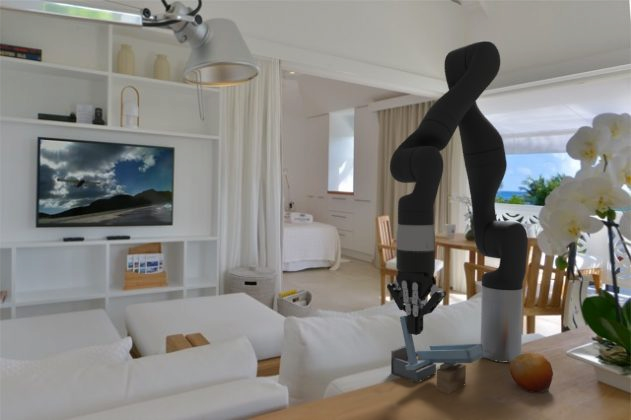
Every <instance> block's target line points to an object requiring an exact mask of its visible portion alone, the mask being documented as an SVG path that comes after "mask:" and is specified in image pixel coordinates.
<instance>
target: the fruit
mask: <svg viewBox="0 0 631 420" xmlns="http://www.w3.org/2000/svg"><path fill="white" fill-rule="evenodd" d="M508 370H509V373H510V375H511V378H512V379H513V381H514V382H515V383H516V385H517V386H519V387H520V388H521V389H522V390H524V391H526V392H528V393H529V392H530V393H542V392H547V393H549V391H550V387H551V385H552V380H553V376H554V372H553V368H552V364H551V362H550V361H549V360H548V359H547V358H546V357H545V356H544V355H541V354H539V353H535V352H528V353H527V352H525V353H521V355H519V356H517V357H516V358H515V359H513V360H512V361H511V363H509V365H508Z"/></svg>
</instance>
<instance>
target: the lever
mask: <svg viewBox="0 0 631 420" xmlns="http://www.w3.org/2000/svg"><path fill="white" fill-rule="evenodd" d="M399 319H400V325H401V330H402V331H401V332H402V335H403V341H404V343H405V344H404V346H406V350H407V355H408V360H409V364H408V365H406V366H405V367H406V370H416V369H418V368H420V367H422V366H425V365H427V364H429V363H435V364H444V363H460V364H472V363H474V362H477V361H478V360H480V359H482V358H485V357H484V356H485V355H484V350H483V346H482V344H481V343H469V344H466V343H463V344H434V345H433V344H432V345H429V350H428V349H427V350H425V349H424V350H416V349H415V348H416V347H415V344H414V339H413V334H410V333H409V330H408V328H407V315H401V316H399ZM416 352H417V356H418V361H417V357H416Z"/></svg>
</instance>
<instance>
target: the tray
mask: <svg viewBox="0 0 631 420" xmlns="http://www.w3.org/2000/svg"><path fill="white" fill-rule="evenodd" d="M415 352H416V356H417V351H415ZM390 353H391V360H390V361H391V362H390V363H391V366H390V373H391V375H393V376H397V377H399V378H403V379H405V378H407V379H406V380H408V379H410V380H409V381H411V380H413V381H415V382H414V383H416V382H418V383H420V382H421V381H420V380H422V381H424V380H426V379H428V378H429V377H428V376H430V375H432V374H434V373H436V374H437V363H429V364H427V365H425V366H423V368H422V369H420V370H417V371H416V370H406V367H405V366H406V365H408V364H409V362H407V360H408V355H407V350H406V345H404V346H401V347H399V348H398V347H397V348H395V349H392V350H391V352H390ZM417 357H418V356H417ZM434 375H435V374H434ZM432 376H433V375H432ZM427 377H428V378H427ZM430 377H431V376H430ZM425 378H426V379H425ZM423 379H424V380H423ZM413 381H412V382H413ZM419 381H420V382H419Z"/></svg>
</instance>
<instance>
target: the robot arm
mask: <svg viewBox="0 0 631 420" xmlns="http://www.w3.org/2000/svg"><path fill="white" fill-rule="evenodd" d="M500 67H501V56H500V52H499V49H498V47H497V45H496V44H495V43H494V42H492V41H491V40H478V41H476V42H475V41H474V42H472V43H470V44H468V45H465V46H461V47H458V48H455V49H453V50H451V51H449V52H448V53H447V55H446V56H445V59H444V76H445V79H446V80H445V81H446V84H447V89H448V90H447V91H446V92H445V93H444V94H442V96H440V97H439V98H438V99H437V100H436V101H435V102H434V103H433V104H432V105H431V106H430V107H429V108H428V110H427V112H426V114H425V115H424V116H423V119H422V120H421V122H420V123H419V125H418V127H417V128H416V129H415V130H414V131H413V132H411V134H410V135H409V136H407V137H406V139H404V141H403V142H402V143H401V144H400V145H398V147H397V148H396V149H395V151H394V152H393V154H392V156H391V158H390V162H389V172H390V175H391V176H392V178H393V179H394V180H395V181H397V182H399V183H404V184H406V183H407V184H408V183H409V184H410V183H411V184H412V183H414V184H415V185H414V187H413V191H412V192H410V193H408V194H405V195H402V196H400V198H399V199H398V201H397V202H398V203H397V230H396V245H395V246H396V247H395V248H396V253H395V254H396V256H395V257H396V258H395V259H396V260H395V261H396V263H395V265H396V270H397V274H396V276H395V280H394V281H393V282H391V283H388V284H387V285H386V288H387V291H388V292H389V294H390V295H391V297H392V299H393V301H394V303H395V304H396V306H397V308H398V309H399V311H403V312H405V314H406V316H407V328H408V330H409V333H410V334H412V335H414V336H418V335H420V334H422V332H423V330H424V317H425V316H426V315H429V314H431V313H433V312H434V310H435V309H436V308H437V307H438V305H439V304H440V303H441V302H442V301H443V299H445V297H446V296H447V291H445V290H444V289H443V290H441V289H440V288H439V287H438V286H437V281H436V279H435V275H434V273H435V271H436V270H435V269H436V233H435V220H434V218H435V212H434V211H435V202H436V198H437V194H438V191H439V187H440V184H441V181H442V176H443V173H444V159H443V156H442V154H441V151H444V149H446V147H447V145H448V144H449V143H450V141H451V139H452V138H453V135H454V134H455V132H456V130H457V128H458V131H459V137H460V142H461V143H460V144H461V149H462V156H463V161H464V167H465V171H466V176H467V181H468V188H469V192H470V193H469V195H470V200H471V202H470V203H471V212H472V223H473V236H474V243H475V246H476V248H477V251H478V252H479V253H480V254H481V256H484V257H487V258H493V259H499V266H498V267H497V268H496V269H494V270H492V271H486V272H484V273H483V274H482V276H481V295H480V296H481V300H480V301H481V306H480V307H481V309H480V310H481V311H480V344H482V346H483V350H484V355H485V356H484V357H483V358H485V357H486V358H485V359H487V358H488V359H487V360H489V359H492V360H491V361H493V360H497V361H507V362H511V361H512V360H513V359H515V358H516V357H517V356H519V355H521V354H522V342H523V341H522V338H523V337H522V335H523V332H522V331H523V290H524V289H523V287H524V285H523V284H524V280H525V277H526V269H527V268H526V267H527V258H528V257H527V256H528V247H529V246H528V244H529V243H528V242H529V241H528V233H527V229H526V227H525V226H524V225H523V224H522V223H521V222H518V221H505V220H498V219H497V215H496V207H495V206H496V205H495V203H496V197H497V194H498V191H499V188H500V186H501V185H502V182H503V181H504V177H505V175H506V172H507V168H508V167H507V163H508V162H507V157H506V149H505V145H504V140H503V137H502V135H501V134H500V132H499V131H498V130H497V128H496V127H495V126H494V125H493V124H492V123H491V121H490V120H489V119H488V118H487V117H486V116H485V115H484V114H483V112H482V111H481V110H480V108H479V106H478V104H477V100H478V99H479V98H480V96H482V94H483V93H484V92H485V90H486V89H487V88H488V87H489V86H490V85H491V84H492V82H493V81H494V80H495V79H496V77H497V75H498V74H499V71H500V69H501V68H500ZM428 297H430V298H429V299H428ZM497 361H496V362H497Z"/></svg>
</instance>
